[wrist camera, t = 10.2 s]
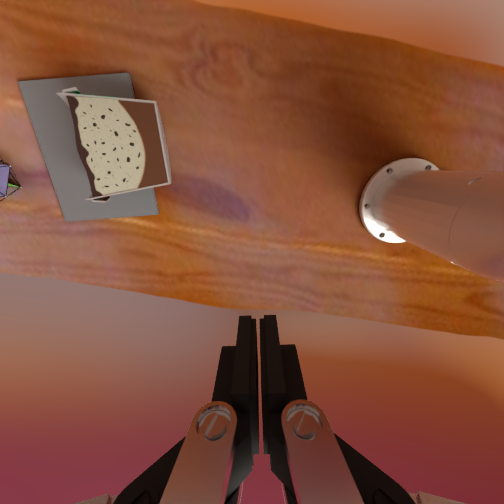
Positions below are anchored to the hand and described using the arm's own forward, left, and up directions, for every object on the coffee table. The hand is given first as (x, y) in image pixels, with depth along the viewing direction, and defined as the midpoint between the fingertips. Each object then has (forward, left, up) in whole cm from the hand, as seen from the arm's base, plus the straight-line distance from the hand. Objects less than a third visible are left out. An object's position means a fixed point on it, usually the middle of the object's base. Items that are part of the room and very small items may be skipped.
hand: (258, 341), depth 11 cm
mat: (+21, -11, -28) cm, 36 cm away
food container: (+10, -11, -26) cm, 30 cm away
